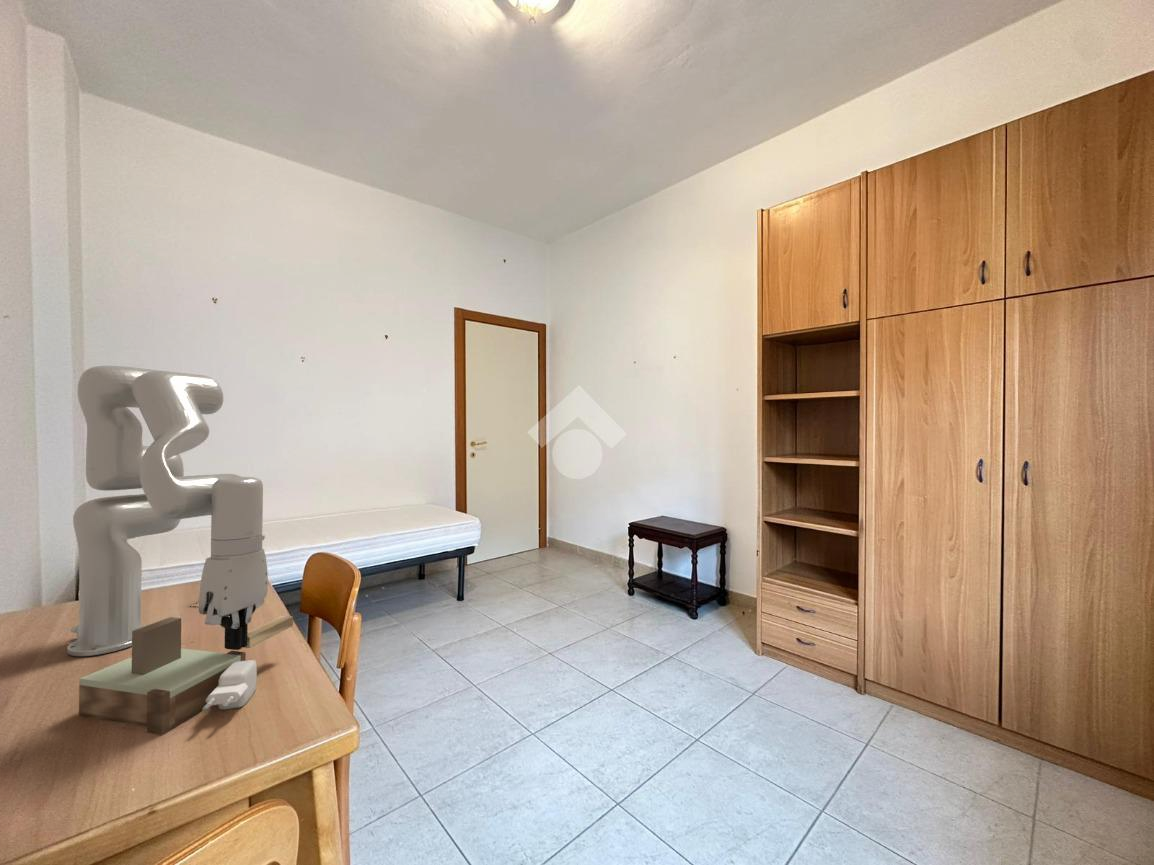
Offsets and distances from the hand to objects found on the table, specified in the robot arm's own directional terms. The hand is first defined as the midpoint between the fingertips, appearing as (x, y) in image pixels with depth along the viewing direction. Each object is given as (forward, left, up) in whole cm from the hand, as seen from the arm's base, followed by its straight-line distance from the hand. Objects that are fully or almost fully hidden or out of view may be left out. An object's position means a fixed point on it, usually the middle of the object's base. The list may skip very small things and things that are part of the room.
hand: (235, 647), depth 84 cm
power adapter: (+6, -6, -7) cm, 11 cm away
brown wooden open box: (-7, -7, -7) cm, 12 cm away
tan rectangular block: (0, +7, -1) cm, 7 cm away
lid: (-7, -7, -2) cm, 10 cm away
